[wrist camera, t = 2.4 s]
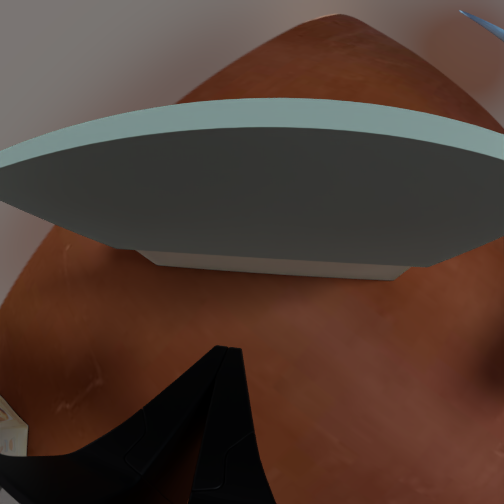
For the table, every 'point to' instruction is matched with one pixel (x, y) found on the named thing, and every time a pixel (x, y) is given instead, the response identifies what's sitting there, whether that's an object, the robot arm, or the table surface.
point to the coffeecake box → (12, 432)
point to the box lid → (269, 181)
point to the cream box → (276, 265)
